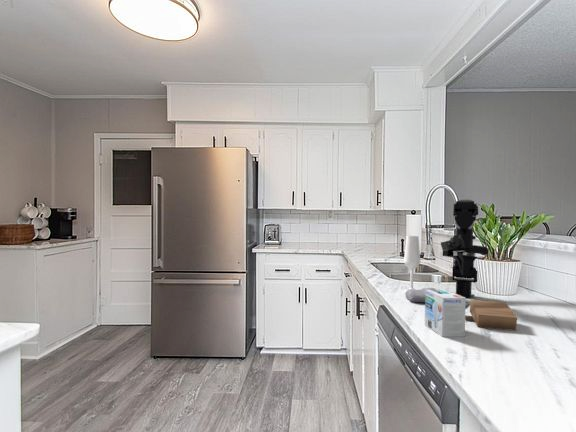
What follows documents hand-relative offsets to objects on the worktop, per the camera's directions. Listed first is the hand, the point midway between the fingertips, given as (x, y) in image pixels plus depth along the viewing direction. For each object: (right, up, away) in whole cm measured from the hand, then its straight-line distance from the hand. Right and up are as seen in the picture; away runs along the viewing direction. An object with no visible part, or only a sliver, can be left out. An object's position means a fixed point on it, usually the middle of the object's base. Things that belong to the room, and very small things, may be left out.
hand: (463, 275), depth 128 cm
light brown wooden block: (-1, -7, -16) cm, 18 cm away
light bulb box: (-20, -11, -28) cm, 36 cm away
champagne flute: (-12, -11, +21) cm, 27 cm away
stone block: (-12, -11, +6) cm, 17 cm away
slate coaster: (-3, -11, +2) cm, 12 cm away
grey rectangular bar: (-1, -11, -19) cm, 22 cm away
